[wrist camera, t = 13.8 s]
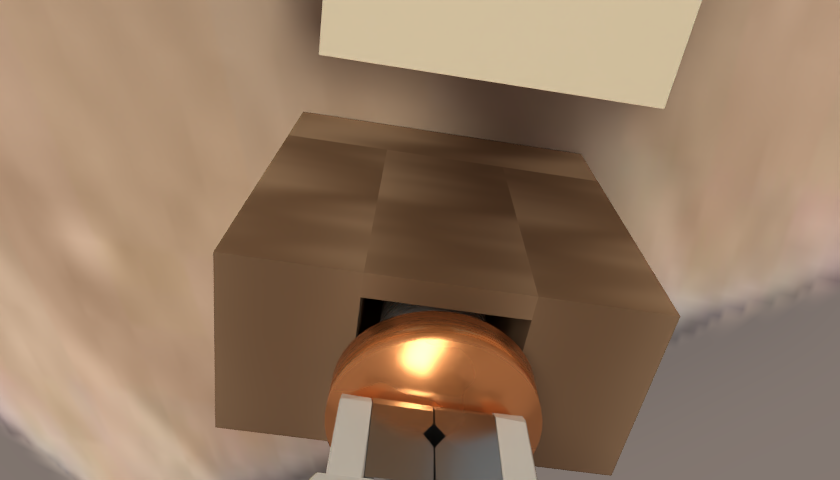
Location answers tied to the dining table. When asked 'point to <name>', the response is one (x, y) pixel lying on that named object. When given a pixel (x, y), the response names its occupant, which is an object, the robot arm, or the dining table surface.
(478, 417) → the robot arm
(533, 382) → the button
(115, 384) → the dining table surface
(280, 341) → the box
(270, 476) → the dining table surface
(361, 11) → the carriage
